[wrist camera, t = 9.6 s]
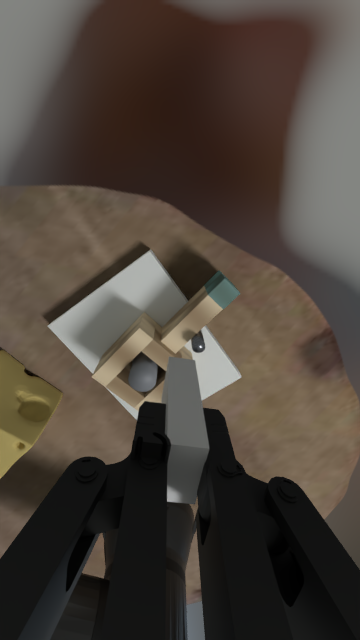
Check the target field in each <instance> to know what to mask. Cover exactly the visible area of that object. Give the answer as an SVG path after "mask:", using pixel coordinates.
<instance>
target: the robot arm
mask: <svg viewBox="0 0 360 640" xmlns="http://www.w3.org/2000/svg"><path fill="white" fill-rule="evenodd" d="M228 433H229V432H228V429H227V425H226V421H225V417H224V416H223V415H222V414H221V412H220V411H219V410H216V409H208V408H203V406H202V400H201V394H200V388H199V382H198V375H197V369H196V363H195V360H190V359H183V358H177V357H170V356H169V359H168V364H167V370H166V375H165V381H164V386H163V392H162V399H161V403H156V402H148V401H144V403H143V404H142V405H141V406H140V407H139V412H138V418H137V424H136V430H135V436H134V440H133V444H132V451H131V453H130V455H129V456H128V457H127V458H126V459H124V460H123V461H121V462H118V463H115V464H110V465H105V463H104V462H103V461H102V460H100V459H98V458H96V457H83V458H80V459H77V460H75V461H74V462H73V463H71V464H70V465H69V466H68V468H67V469H66V470H65V472H64V473H63V474H62V476H61V477H60V478H59V480H58V481H57V483H56V484H55V485H54V487H53V488H52V489H51V491H50V492H49V493H48V495H47V496H46V497H45V499H44V500H43V502H42V503H41V504H40V506H39V507H38V508H37V510H36V511H35V512H34V514H33V515H32V516H31V518H30V519H29V521H28V522H27V523H26V525H25V526H24V527H23V529H22V530H21V531H20V533H19V534H18V536H17V537H16V538H15V540H14V541H13V542H12V544H11V545H10V546H9V548H8V549H7V550H6V552H5V553H4V555H3V556H2V557H1V559H0V640H188V638H187V611H186V584H185V570H186V565H187V561H188V556H189V552H190V546H191V542H192V539H193V536H194V534H195V532H196V528H197V540H198V553H199V566H200V579H201V592H202V604H203V617H204V629H205V640H360V570H359V568H358V567H357V565H356V564H355V563H354V561H353V560H352V558H351V557H350V556H349V554H348V553H347V551H346V550H345V549H344V547H343V546H342V544H341V543H340V542H339V540H338V539H337V538H336V536H335V535H334V533H333V532H332V530H331V529H330V528H329V526H328V525H327V523H326V522H325V521H324V519H323V518H322V516H321V515H320V514H319V512H318V511H317V509H316V508H315V507H314V505H313V504H312V502H311V501H310V500H309V498H308V497H307V495H306V494H305V493H304V491H303V490H302V489H301V488H300V487H299V486H298V485H297V484H296V483H294V482H293V481H292V480H290V479H287V478H284V477H274V478H271V480H270V481H269V483H265V482H263V481H260V480H258V479H255V478H253V477H251V476H249V475H248V474H246V472H245V470H244V468H243V466H242V465H241V464H240V463H239V462H238V461H237V460H236V459H235V455H234V451H233V447H232V444H231V440H230V436H229V434H228ZM197 496H198V510H197V513H196V517H195V521H194V515H193V511H192V508H191V506H190V505H189V504H195V502H196V498H197ZM100 533H103V538H104V553H105V565H106V569H105V575H104V579H103V578H99V577H95V576H91V575H87V574H83V573H82V571H83V568H84V566H85V564H86V562H87V560H88V558H89V556H90V554H91V551H92V549H93V547H94V545H95V543H96V541H97V539H98V537H99V534H100Z"/></svg>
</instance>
